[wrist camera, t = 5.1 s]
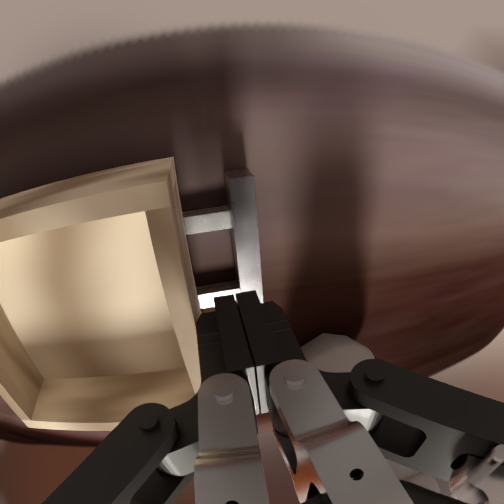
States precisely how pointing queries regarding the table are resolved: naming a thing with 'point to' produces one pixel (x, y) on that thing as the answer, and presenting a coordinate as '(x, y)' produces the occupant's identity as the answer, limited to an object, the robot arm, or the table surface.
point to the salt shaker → (343, 360)
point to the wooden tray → (97, 298)
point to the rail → (232, 236)
